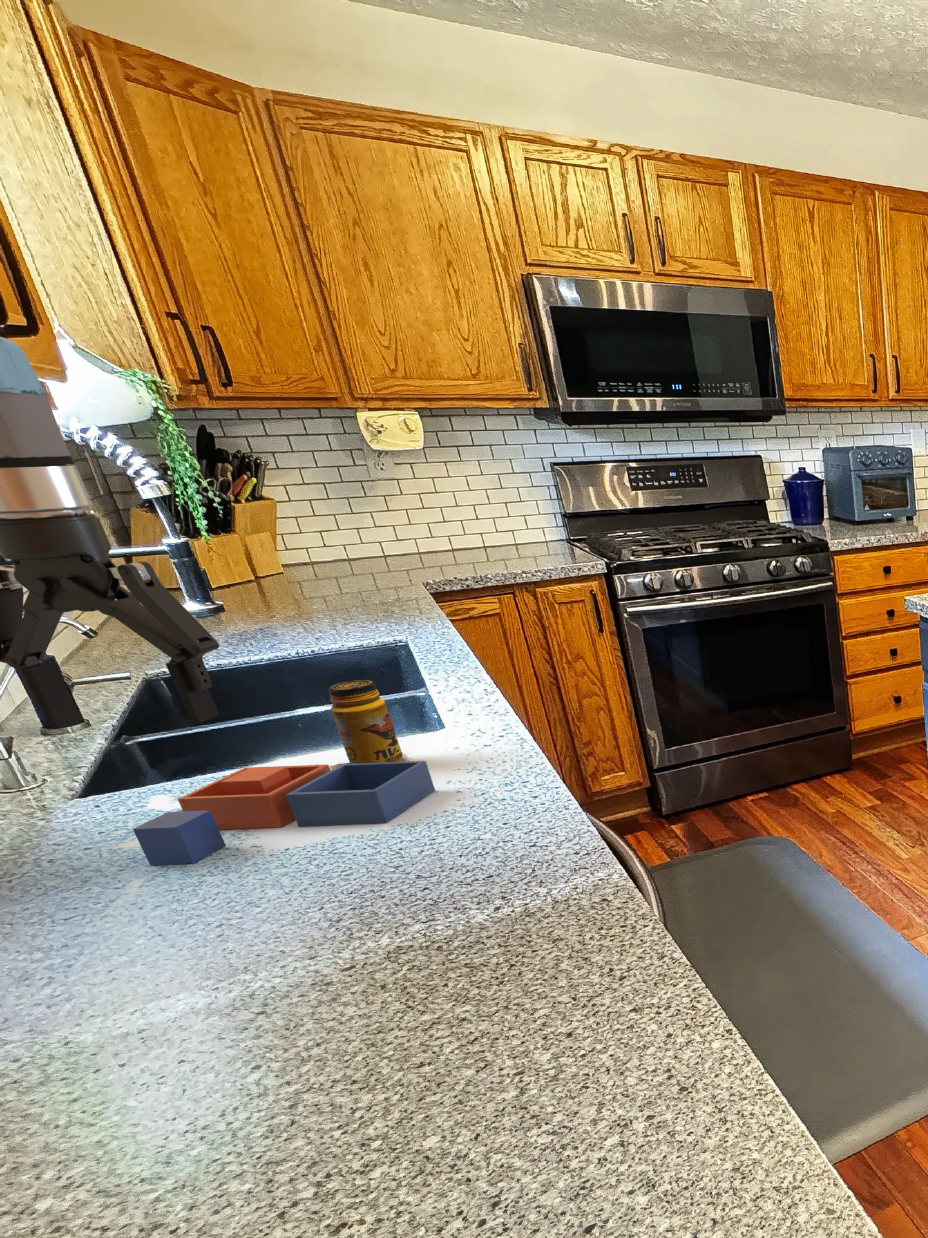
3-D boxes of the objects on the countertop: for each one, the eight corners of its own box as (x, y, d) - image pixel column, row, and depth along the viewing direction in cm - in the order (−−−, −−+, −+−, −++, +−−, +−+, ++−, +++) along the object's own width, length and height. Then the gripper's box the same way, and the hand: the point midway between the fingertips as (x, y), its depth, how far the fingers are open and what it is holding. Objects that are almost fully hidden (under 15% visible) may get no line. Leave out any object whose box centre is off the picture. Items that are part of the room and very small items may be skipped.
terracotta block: (234, 815, 106) (220, 781, 104) (262, 800, 110) (249, 767, 108) (273, 813, 106) (260, 780, 104) (300, 799, 110) (287, 766, 108)
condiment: (412, 766, 122) (385, 684, 118) (337, 782, 117) (306, 697, 112) (402, 753, 127) (376, 674, 122) (330, 768, 122) (299, 686, 117)
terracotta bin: (191, 831, 103) (177, 798, 101) (256, 797, 112) (244, 767, 111) (282, 827, 104) (269, 795, 102) (339, 793, 113) (328, 764, 111)
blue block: (149, 865, 95) (132, 828, 93) (184, 847, 99) (168, 811, 97) (193, 863, 95) (176, 827, 93) (226, 845, 99) (210, 810, 98)
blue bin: (298, 826, 104) (285, 794, 102) (354, 793, 113) (343, 763, 112) (387, 822, 105) (375, 791, 103) (435, 790, 114) (425, 760, 112)
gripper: (210, 507, 88) (287, 706, 96) (-60, 513, 86) (43, 716, 94) (146, 514, 81) (235, 728, 89) (-149, 520, 79) (-30, 739, 87)
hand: (137, 722), depth 92 cm, fingers open, 13 cm apart
